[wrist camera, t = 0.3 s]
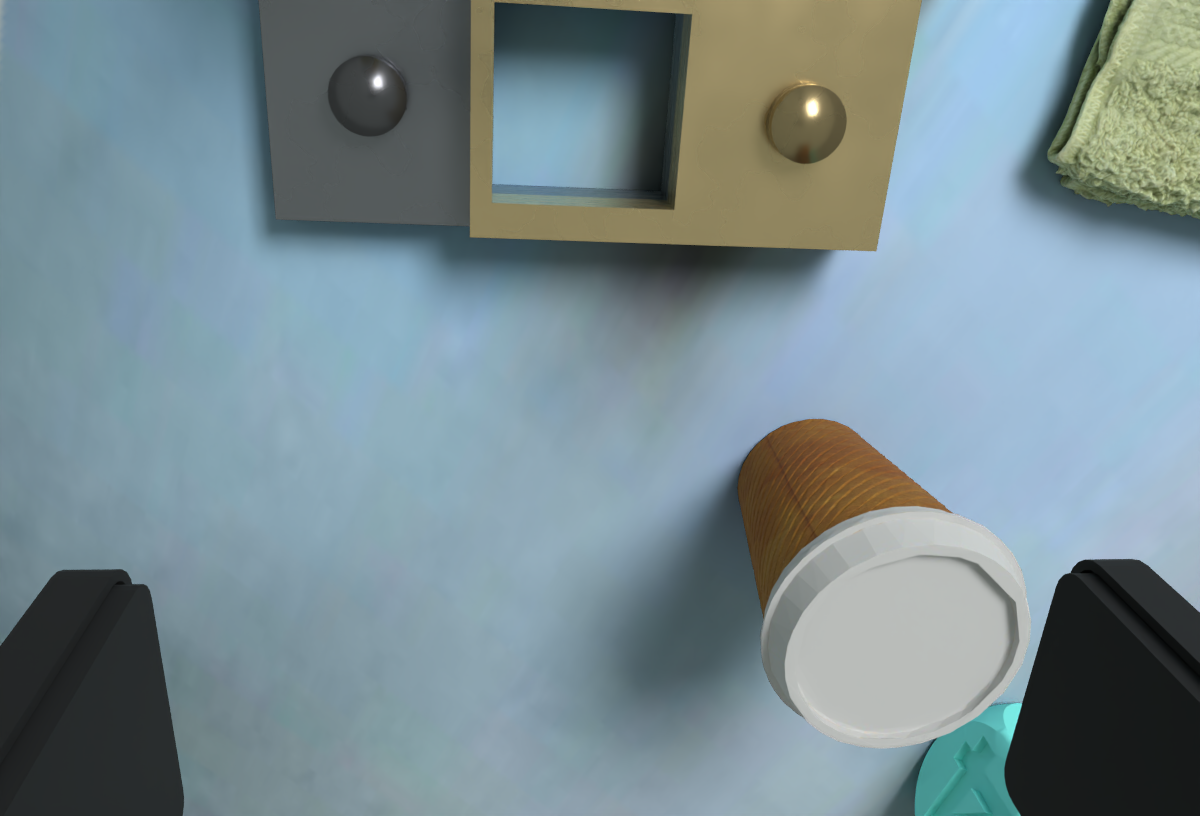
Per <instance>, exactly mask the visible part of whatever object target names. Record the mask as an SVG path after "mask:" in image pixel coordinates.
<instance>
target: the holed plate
mask: <svg viewBox="0 0 1200 816" xmlns="http://www.w3.org/2000/svg"><path fill="white" fill-rule="evenodd" d="M495 2H503V3H519V4H535V5H552V6H568V7H584V8H600V9H616V10H633V11H649V12H665V13H676V17H675V29H674V40H673V52H672V64H671V76H670V87H669V99H668V111H667V123H666V134H665V146H664V158H663V169H662V181H661V191H643V190H619V189H594V188H569V187H544V186H520V185H495V184H492V159H493V86H494V13H495ZM921 2H922V0H259V12H260V25H261V37H262V50H263V63H264V75H265V88H266V101H267V113H268V126H269V139H270V151H271V164H272V177H273V189H274V202H275V215H276V219H279V220H307V221H335V222H364V223H392V224H420V225H448V226H470V237H477V238H506V239H536V240H565V241H594V242H623V243H652V244H682V245H711V246H740V247H769V248H799V249H828V250H857V251H876V250H877V244H878V239H879V233H880V228H881V222H882V217H883V211H884V206H885V200H886V195H887V189H888V184H889V178H890V173H891V167H892V162H893V156H894V151H895V145H896V140H897V134H898V129H899V123H900V118H901V112H902V107H903V101H904V96H905V90H906V85H907V79H908V74H909V68H910V62H911V57H912V51H913V46H914V40H915V35H916V29H917V24H918V18H919V13H920V7H921Z"/></svg>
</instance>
